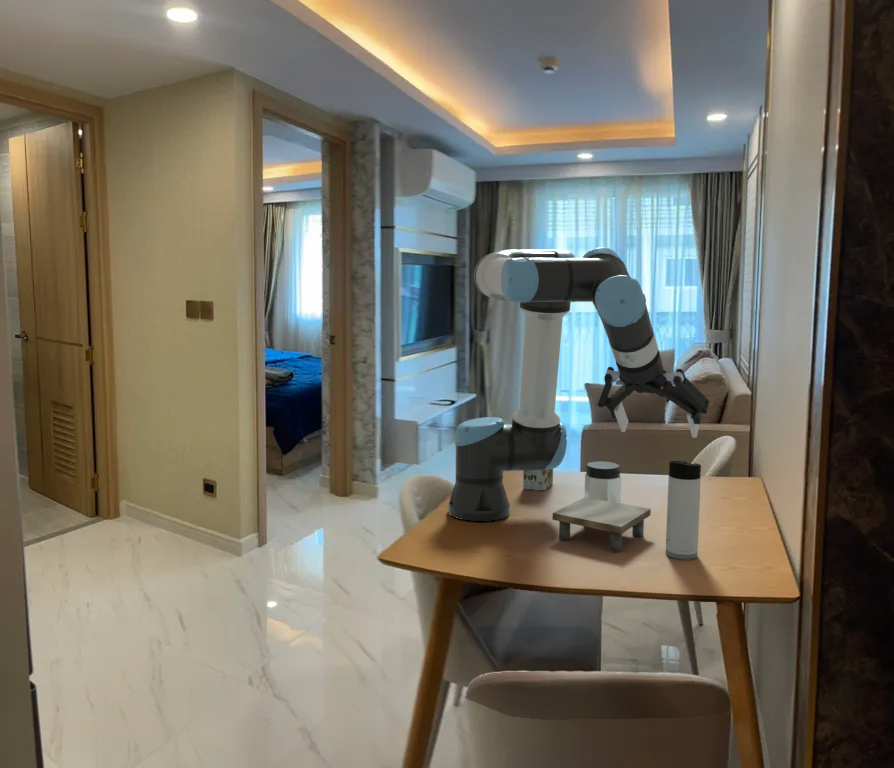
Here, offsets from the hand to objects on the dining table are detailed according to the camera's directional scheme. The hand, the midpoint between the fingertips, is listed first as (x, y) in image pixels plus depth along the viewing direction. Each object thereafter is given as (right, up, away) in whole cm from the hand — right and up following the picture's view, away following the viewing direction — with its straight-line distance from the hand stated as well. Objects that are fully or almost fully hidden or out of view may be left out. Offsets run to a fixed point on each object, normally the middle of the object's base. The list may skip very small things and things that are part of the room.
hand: (659, 429), depth 139 cm
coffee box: (-15, -20, +65) cm, 69 cm away
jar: (-2, -23, +40) cm, 47 cm away
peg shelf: (-7, -25, +22) cm, 34 cm away
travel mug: (+8, -27, +10) cm, 30 cm away
